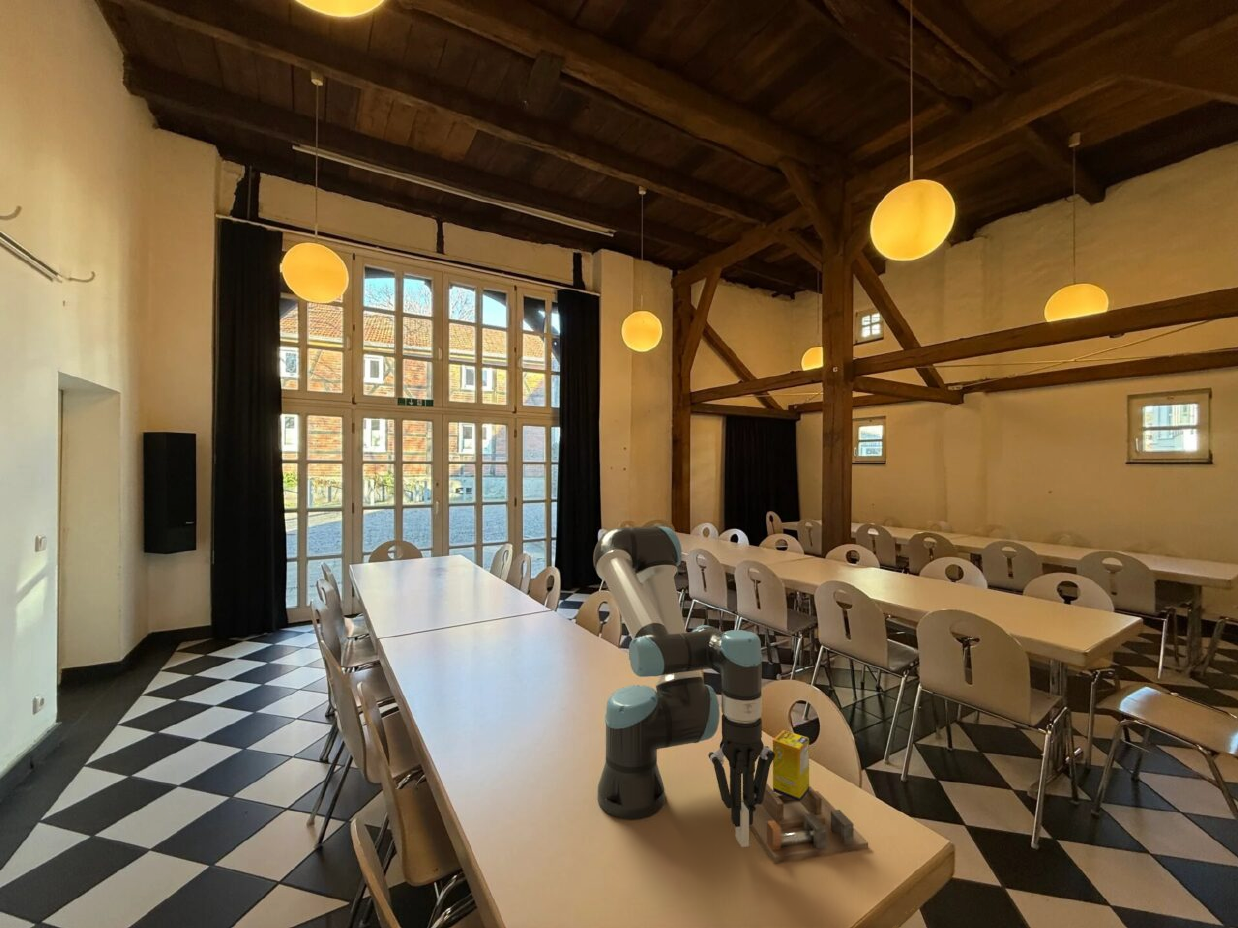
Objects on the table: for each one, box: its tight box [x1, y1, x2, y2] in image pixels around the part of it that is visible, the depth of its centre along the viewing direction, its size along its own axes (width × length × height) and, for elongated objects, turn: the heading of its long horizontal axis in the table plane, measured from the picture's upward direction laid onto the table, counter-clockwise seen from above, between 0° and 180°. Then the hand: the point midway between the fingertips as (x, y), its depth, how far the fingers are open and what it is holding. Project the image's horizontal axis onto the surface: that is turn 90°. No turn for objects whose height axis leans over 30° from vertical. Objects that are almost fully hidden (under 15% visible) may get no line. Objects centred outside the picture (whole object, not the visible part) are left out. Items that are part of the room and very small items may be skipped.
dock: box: [741, 783, 869, 865], centre depth 107 cm, size 20×17×6 cm
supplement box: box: [772, 729, 810, 802], centre depth 110 cm, size 6×6×11 cm
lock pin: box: [767, 820, 827, 851], centre depth 100 cm, size 12×2×4 cm, turn 102°
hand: (742, 841), depth 98 cm, fingers closed
